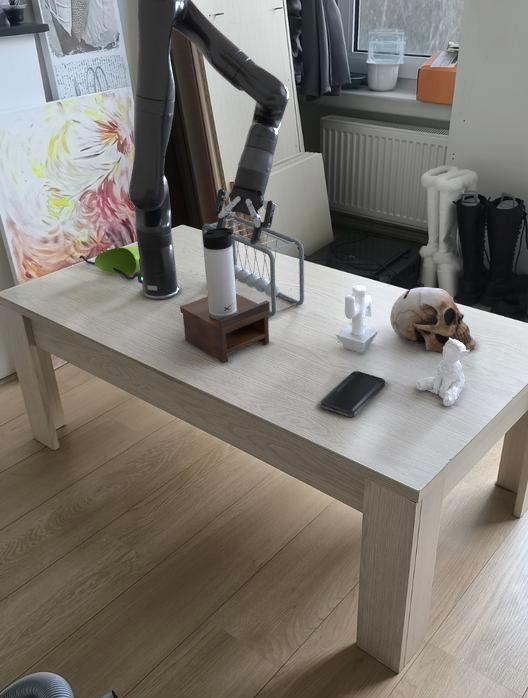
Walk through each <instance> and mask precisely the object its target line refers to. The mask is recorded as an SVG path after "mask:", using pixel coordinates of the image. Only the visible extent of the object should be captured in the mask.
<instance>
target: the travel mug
mask: <svg viewBox="0 0 528 698" xmlns="http://www.w3.org/2000/svg"><path fill="white" fill-rule="evenodd" d="M232 234H233V229H230V228H229V227H225V228H216V229H212V230H210V229H208V230H206V233H205V234H204V235H203V237H202V248H203V247H204V248H203V258H205V260H204V270H205V269H206V272H205V281H206V290H207V296H208V303H209V315H210V317H211V318H213V319H216V320H219V319H221V318H224V317H226V316H229V315H231V314H234V313H236V312H237V308H236V294H237V292H236V279H235V276H234V261H233V247H232V236H231V235H232ZM203 242H204V243H203ZM203 244H204V245H203Z"/></svg>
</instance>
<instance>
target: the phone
mask: <svg viewBox="0 0 528 698" xmlns="http://www.w3.org/2000/svg"><path fill="white" fill-rule="evenodd" d="M385 387H386V379H385V378H384V377H379V376H376V375H373V374H369V373H367V372H363V371H359V370H354V371H352V372H351V373H350V374H348V375H347V376H346V377H345V378H344V379H343V380H342V381H341V382H339V384H338V385H336V386H335V387H334V388H333V389H332V390H331V391H330V392H328V393H327V394H326V396H324V397H323V398H322V399H321V401H320V407H321V408H322V409H324V410H327V411H330V412H333V413H336V414H339V415H341V416H345V417H347V418H353V417H356V416H357V415H358V414H359V413H360V411H362V410H363V409H364V408H365V407H366V406H367V404H369V403H370V402H371V401H372V400H373V399H374V398H375V397H376V396H377V395H378V393H380V392H381V391H382V390H383V389H385Z"/></svg>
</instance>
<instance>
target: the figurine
mask: <svg viewBox="0 0 528 698" xmlns="http://www.w3.org/2000/svg"><path fill="white" fill-rule="evenodd" d="M351 291H352V293H351V294H350V295H346V296H345V297H344V315H345V317H346V318H347V319H350V320H351V323H350V324H348V325H347V326H346V327H345V328H343V329H342V330H340V331H339V332H337V333H336V334H335V336H336V337H337V339H338V340H339V342H340V343H341V345H342V346H343V348H344V349H347V350H350V351H354V352H357V353H359V354H360V353H363V351H365V350H366V349H368V347H370V346H371V345H372V343H373V341H374V339H375V338H376V336H377V335H378V333H379V331H380V330H379V329H375V328H372V327H369V326H365V318H370V317H371V316H372V313H373V312H372V309H373V300H372V297H371V296H370V295H369V294H367V288H366V286H363V285H357V284H356V285H353V286H352V290H351Z"/></svg>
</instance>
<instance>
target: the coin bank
mask: <svg viewBox="0 0 528 698" xmlns="http://www.w3.org/2000/svg"><path fill="white" fill-rule="evenodd" d="M389 318H390V319H389V320H390V321H389V322H390V326H391V328H392V330H393V331H394V333H396V335H398V336H399V337H400V338H401V339H403V340H405V341H406V342H409V343H412V344H413V343H414V344H415V343H417V344H425V350H426V351H429V352H433V351H434V352H439V353H443V347H444V346H445V343H447V341H448V340H449V337H450V338H451V339H452V340H453V339H455V340H457V341H459V342H460V343H463V344H464V346H465V347H466V350H470V351H472V350H474V349H475V346H476V341H475V340H474V339H473V337H472V336H471V334H470V332H471V331H470V327H469V325H468V323H466V322H464V320H463V319H464V318H465V314H464V313H463V312H462V311H460V309H459V307H458V306H457V304H456V302H455V299H454V296H451V295H450V294H449V293H448V291H446V290H444V289H443V288H437V287H427V286H424V287H414V288H411V289H408V290H405V292H403V293H401V295H399V297H398V298H397V299H396V300H395V302H394V303H393V305H392V307H391V312H390V317H389Z"/></svg>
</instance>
